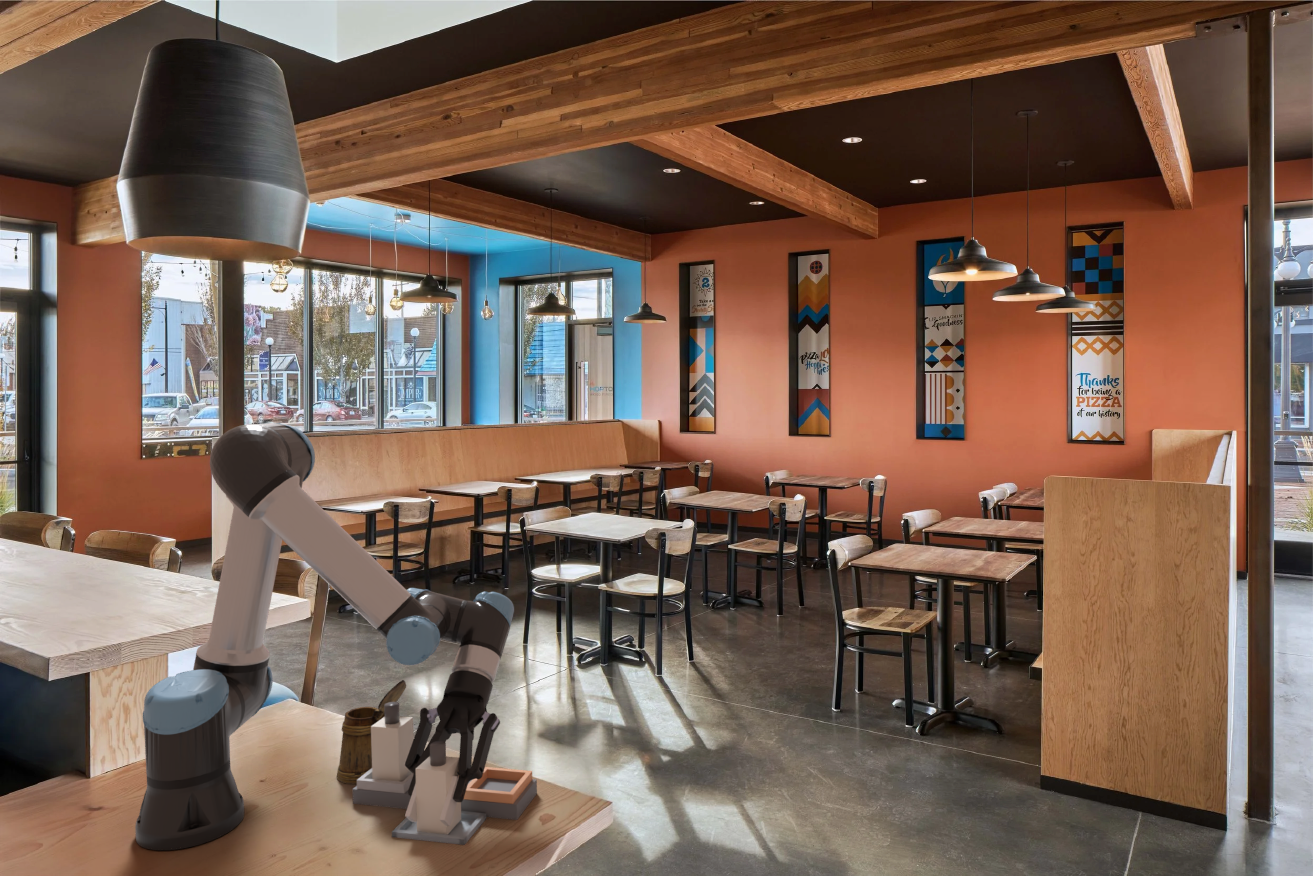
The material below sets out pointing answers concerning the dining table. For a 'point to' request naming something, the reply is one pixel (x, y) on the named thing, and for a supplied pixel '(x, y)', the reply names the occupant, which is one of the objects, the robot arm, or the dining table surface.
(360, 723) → the wooden mug
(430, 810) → the bottle
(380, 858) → the dining table surface
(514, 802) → the grey base
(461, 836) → the tray
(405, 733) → the twin plug
